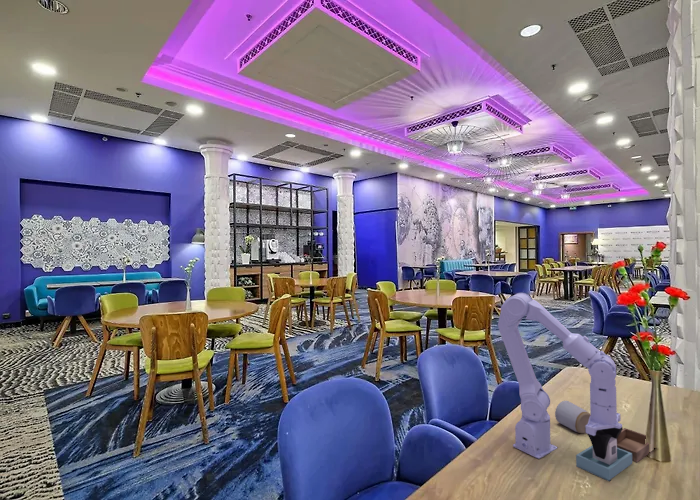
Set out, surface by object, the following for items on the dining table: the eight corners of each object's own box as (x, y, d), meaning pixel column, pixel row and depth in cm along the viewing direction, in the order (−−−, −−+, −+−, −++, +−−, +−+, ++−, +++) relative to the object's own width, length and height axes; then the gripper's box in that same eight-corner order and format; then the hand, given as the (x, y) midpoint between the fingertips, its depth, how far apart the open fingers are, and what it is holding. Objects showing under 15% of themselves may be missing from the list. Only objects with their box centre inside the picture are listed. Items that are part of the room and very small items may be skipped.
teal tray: (609, 481, 91) (609, 469, 91) (576, 466, 97) (576, 454, 97) (632, 464, 97) (632, 453, 97) (600, 451, 104) (599, 440, 104)
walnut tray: (636, 464, 98) (636, 452, 98) (604, 450, 104) (604, 440, 104) (656, 449, 104) (656, 438, 104) (624, 437, 111) (624, 427, 111)
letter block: (610, 465, 94) (610, 443, 94) (592, 457, 98) (592, 436, 98) (618, 460, 96) (617, 439, 96) (600, 452, 100) (599, 432, 100)
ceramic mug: (577, 437, 112) (577, 411, 112) (554, 425, 120) (554, 401, 120) (603, 432, 115) (602, 407, 115) (579, 420, 123) (579, 397, 123)
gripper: (606, 415, 90) (608, 471, 90) (633, 401, 98) (634, 452, 98) (576, 405, 96) (577, 457, 96) (603, 392, 104) (604, 441, 104)
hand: (604, 454), depth 97 cm, fingers closed on letter block, 4 cm apart
